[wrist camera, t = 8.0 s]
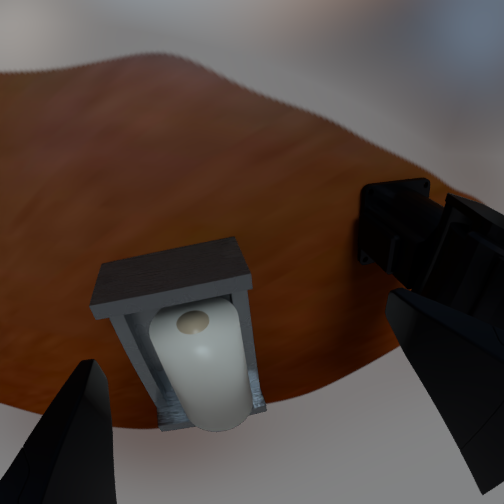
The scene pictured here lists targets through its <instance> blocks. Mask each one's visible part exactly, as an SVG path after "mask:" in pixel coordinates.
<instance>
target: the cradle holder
mask: <svg viewBox="0 0 504 504" xmlns="http://www.w3.org/2000/svg"><path fill="white" fill-rule="evenodd" d="M249 289H253V288H252V280H251V273H250V271H249V268H248V266H247V264H246V262H245V259H244V257H243V255H242V252H241V250H240V248H239V246H238V243H237V241H236V239H235V237H229V238H224V239H219V240H214V241H209V242H204V243H199V244H194V245H189V246H184V247H179V248H175V249H170V250H165V251H160V252H155V253H150V254H146V255H141V256H136V257H131V258H127V259H122V260H117V261H113V262H108V263H103V264H102V265H101V268H100V271H99V274H98V277H97V281H96V284H95V287H94V291H93V294H92V298H91V301H90V305H89V307H90V309H91V311H92V313H93V315H94V317H95V319H96V320H98V319H103V318H110V320H111V322H112V325H113V327H114V329H115V331H116V333H117V335H118V337H119V339H120V341H121V343H122V345H123V347H124V349H125V351H126V353H127V355H128V357H129V359H130V361H131V363H132V364H133V366H134V368H135V370H136V372H137V374H138V375H139V377H140V379H141V381H142V383H143V384H144V386H145V388H146V390H147V391H148V393H149V395H150V397H151V398H152V400H153V402H154V403H155V405H156V407H157V418H158V427H159V428H160V430H161V431H169V430H177V429H182V428H189V427H195V425H194V424H193V423H192V422H191V421H190V420H189V419H188V417H187V415H186V413H185V411H184V409H183V407H182V405H181V403H180V401H179V399H178V397H177V395H176V393H175V391H174V389H173V387H172V385H171V383H170V381H169V379H168V377H167V375H166V372H165V370H164V368H163V366H162V364H161V362H160V359H159V357H158V355H157V353H156V350H155V348H154V346H153V343H152V341H151V339H150V335H149V328H150V324H151V321H152V319H153V318H154V316H155V315H156V314H157V312H158V311H159V310H160V309H162V308H163V307H168V306H173V305H178V304H183V303H188V302H193V301H197V300H202V299H207V298H212V297H217V296H219V297H222V298H224V299H226V300H227V301H229V302H230V303H231V304H232V305H233V306H234V307H235V308H236V310H237V312H238V316H239V322H240V328H241V334H242V340H243V346H244V352H245V358H246V364H247V369H248V375H249V381H250V387H251V392H252V398H253V406H252V409H251V412H250V414H249V415H253V414H257V413H261V412H265V411H267V409H266V404H265V401H264V398H263V395H262V392H261V389H260V385H259V378H258V370H257V363H256V355H255V347H254V340H253V332H252V324H251V317H250V309H249V301H248V293H247V290H249Z"/></svg>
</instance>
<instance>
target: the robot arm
mask: <svg viewBox="0 0 504 504" xmlns="http://www.w3.org/2000/svg"><path fill="white" fill-rule="evenodd" d="M424 183H425V185H424ZM370 189H371V192H370V193H369V194H368V191H369V190H370ZM429 191H430V181H429V180H428V179H426V178H414V179H405V180H397V181H388V182H380V183H372V184H367V185H365V186H364V188H363V190H362V206H361V215H360V223H359V237H358V246H359V248H358V261H359V262H360V263H361V264H362V265H366V264H370V263H374V262H376V263H377V264H378V265H379V266H380V267H381V268H382V269H383V270H384V271H385V272H386V273H387V274H393V275H394V276H395V277H396V278H397V279H398V280H399V281H400V282H401V283H402V284H403V285H404V286H405V287H406V288H407V289H412V290H411V291H409V290H407V289H404V288H397V289H394V290H391V291H390V292H389V295H388V300H387V304H386V309H385V314H386V317H387V320H388V322H389V324H390V326H391V327H392V329H393V331H394V334H395V336H396V338H397V340H398V342H399V344H400V346H401V348H402V350H403V352H404V353H405V355H406V357H407V359H408V360H409V362H410V364H411V365H412V367H413V369H414V370H415V372H416V373H417V375H418V377H419V378H420V380H421V382H422V383H423V385H424V387H425V388H426V390H427V392H428V394H429V395H430V397H431V399H432V401H433V402H434V404H435V405H436V407H437V409H438V411H439V413H440V414H441V416H442V418H443V420H444V422H445V424H446V425H447V427H448V429H449V431H450V433H451V434H452V436H453V438H454V440H455V442H456V444H457V446H458V448H459V449H460V452H461V454H462V456H463V457H464V459H465V461H466V463H467V465H468V467H469V469H470V471H471V473H472V475H473V477H474V479H475V482H476V484H477V486H478V488H479V490H480V492H481V493H482V495H484V494H485V493H487V492H488V491H490V490H492V489H493V488H495V487H496V486H498V485H499V484H501V483H502V482H503V481H504V215H503V214H501V213H499V212H497V211H495V210H493V209H492V208H490V207H488V206H486V205H484V204H481V203H479V202H476V201H472V200H469V199H466V198H463V197H460V196H457V195H454V194H450V193H447V196H446V199H445V201H446V204H445V207H443V206H441V205H440V204H438V203H436V202H435V201H433V200H431V199H429ZM364 257H365V258H364ZM363 258H364V259H363ZM23 447H24V448H21V450H20V451H19V453H18V455H17V456H16V458H15V459H14V461H13V462H12V464H11V466H10V467H9V469H8V470H7V472H6V473H5V474H4V476H3V477H2V479H1V480H0V504H117V501H116V491H115V478H114V460H113V431H112V420H111V411H110V402H109V391H108V382H107V378H106V376H105V374H104V373H103V371H102V370H101V368H100V366H99V365H98V363H97V362H96V361H95V360H94V359H88V360H82V361H81V362H80V363H79V364H78V366H77V367H76V368H75V370H74V371H73V373H72V374H71V375H70V377H69V378H68V380H67V381H66V382H65V384H64V385H63V387H62V388H61V389H60V391H59V392H58V394H57V395H56V397H55V398H54V400H53V401H52V402H51V404H50V405H49V407H48V408H47V410H46V411H45V413H44V414H43V416H42V417H41V419H40V420H39V422H38V423H37V425H36V426H35V428H34V430H33V431H32V433H31V434H30V436H29V437H28V439H27V440H26V442H25V444H24V445H23Z"/></svg>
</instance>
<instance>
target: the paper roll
mask: <svg viewBox="0 0 504 504" xmlns="http://www.w3.org/2000/svg"><path fill="white" fill-rule="evenodd" d="M149 335H150V339H151V341H152V343H153V346H154V348H155V350H156V353H157V355H158V357H159V359H160V362H161V364H162V366H163V368H164V370H165V372H166V375H167V377H168V379H169V381H170V383H171V385H172V387H173V389H174V391H175V393H176V395H177V397H178V399H179V401H180V403H181V405H182V407H183V409H184V411H185V413H186V415H187V417H188V419H189V420H190V421H191V422H192V423H193V424H194V425H195V426H197V427H199V428H200V429H203V430H206V431H211V432H220V431H227V430H230V429H233V428H234V427H236V426H238V425H240V424H241V423H242V422H244V420H245V419H246V418H247V417H248V416H249V414H250V412H251V409H252V406H253V398H252V392H251V387H250V381H249V375H248V369H247V364H246V358H245V352H244V346H243V340H242V334H241V328H240V322H239V316H238V312H237V310H236V308H235V307H234V306H233V305H232V304H231V303H230V302H229V301H227V300H226V299H224V298H222V297H219V296H217V297H212V298H207V299H202V300H197V301H193V302H188V303H183V304H178V305H173V306H168V307H163V308H162V309H160V310H159V311H158V312H157V314H156V315H155V316H154V318H153V319H152V321H151V324H150V328H149Z"/></svg>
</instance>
